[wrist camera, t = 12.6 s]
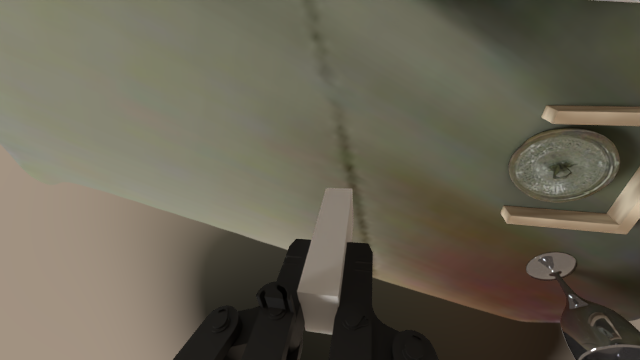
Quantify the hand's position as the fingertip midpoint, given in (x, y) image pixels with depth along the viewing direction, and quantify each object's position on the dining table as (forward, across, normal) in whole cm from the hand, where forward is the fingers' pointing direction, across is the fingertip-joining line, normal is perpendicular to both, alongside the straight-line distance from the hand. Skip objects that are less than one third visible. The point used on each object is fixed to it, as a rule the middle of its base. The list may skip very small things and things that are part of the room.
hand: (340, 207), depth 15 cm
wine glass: (+23, +32, -30) cm, 50 cm away
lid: (+24, +26, -10) cm, 37 cm away
